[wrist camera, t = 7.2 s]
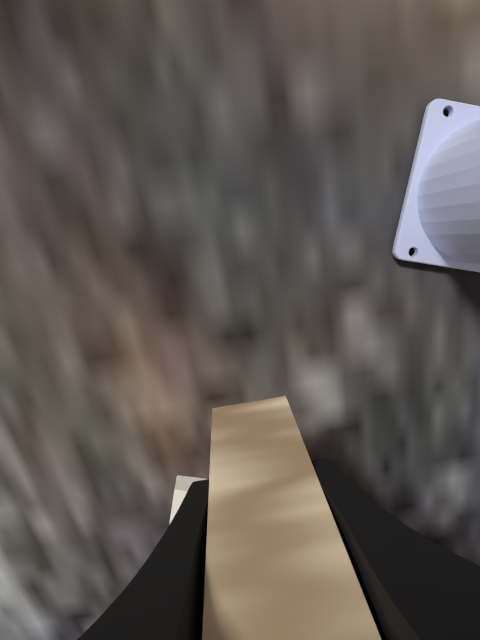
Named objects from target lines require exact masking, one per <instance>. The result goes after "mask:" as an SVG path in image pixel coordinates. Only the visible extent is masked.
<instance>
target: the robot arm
mask: <svg viewBox="0 0 480 640" xmlns="http://www.w3.org/2000/svg"><path fill="white" fill-rule="evenodd" d="M444 108H446V109H447V110H448V112H449V115H448V117H446V116H444V114H443V109H444ZM410 248H414V254H413V255H412V256H410V255H409V249H410ZM392 253H393V255H394V257H395V258H397V259H399V260H405V261H412V262H418V263H424V264H431V265H437V266H443V267H449V268H456V269H462V270H468V271H475V272H480V106H475V105H470V104H465V103H460V102H455V101H450V100H444V99H436V100H434V101H432V102H430V103H429V104H428V105H427V107H426V110H425V114H424V118H423V122H422V126H421V131H420V135H419V139H418V143H417V148H416V152H415V156H414V160H413V165H412V169H411V173H410V177H409V182H408V186H407V190H406V194H405V199H404V203H403V207H402V211H401V216H400V220H399V224H398V228H397V233H396V237H395V241H394V245H393V252H392ZM311 462H312V465H313V467H314V470H315V472H316V475H317V477H318V480H319V482H320V485H321V488H322V490H323V493H324V495H325V498H326V500H327V503H328V505H329V508H330V510H331V513H332V515H333V518H334V521H335V523H336V526H337V528H338V531H339V533H340V536H341V538H342V541H343V543H344V546H345V549H346V551H347V554H348V556H349V559H350V561H351V564H352V566H353V569H354V571H355V574H356V576H357V579H358V582H359V584H360V587H361V589H362V592H363V594H364V597H365V599H366V602H367V604H368V607H369V610H370V612H371V615H372V617H373V620H374V622H375V625H376V627H377V630H378V632H379V635H380V637H381V640H480V566H478V565H476V564H474V563H472V562H470V561H468V560H466V559H464V558H462V557H460V556H458V555H456V554H454V553H452V552H451V551H449V550H447V549H445V548H443V547H441V546H439V545H437V544H436V543H434V542H432V541H430V540H429V539H427V538H425V537H424V536H422V535H420V534H419V533H417V532H416V531H414V530H413V529H411V528H409V527H408V526H406V525H405V524H403V523H402V522H400V521H399V520H398V519H396V518H395V517H393V516H392V515H391V514H389V513H388V512H387V511H385V510H384V509H383V508H381V507H380V506H379V505H378V504H376V503H375V502H374V501H373V500H372V499H370V498H369V497H368V496H367V495H366V494H364V493H363V492H362V491H361V490H360V489H359V488H357V487H356V486H355V485H354V484H353V483H352V482H351V481H350V480H349V479H348V478H346V477H345V476H344V475H343V474H342V473H341V472H340V471H339V470H338V469H337V468H336V467H335V466H334V465H333V464H332V463H331V462H330V461H329V460H328V459H322V460H316V461H311ZM208 498H209V479H206V480H200V481H194V482H193V483H192V484H191V485H190V487H189V489H188V491H187V493H186V495H185V497H184V499H183V501H182V503H181V505H180V507H179V509H178V511H177V512H176V514H175V516H174V518H173V519H172V521H171V523H170V525H169V526H168V528H167V530H166V531H165V533H164V535H163V536H162V538H161V539H160V541H159V542H158V544H157V545H156V547H155V549H154V550H153V552H152V553H151V555H150V556H149V558H148V559H147V560H146V562H145V563H144V565H143V566H142V567H141V569H140V570H139V571H138V573H137V574H136V575H135V577H134V578H133V579H132V581H131V582H130V583H129V584H128V586H127V587H126V588H125V589H124V591H123V592H122V593H121V594H120V595H119V596H118V597H117V599H116V600H115V601H114V602H113V603H112V604H111V605H110V606H109V607H108V609H107V610H106V611H105V612H104V613H103V614H102V615H101V616H100V617H99V618H98V620H97V621H96V622H95V623H94V624H93V625H92V626H91V627H90V628H89V629H88V630H87V631H86V632H85V633H84V634H83V635H82V636H81V637H79V638H78V639H77V640H202V631H203V609H204V587H205V564H206V542H207V520H208Z"/></svg>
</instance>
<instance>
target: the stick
mask: <svg viewBox="0 0 480 640" xmlns="http://www.w3.org/2000/svg"><path fill="white" fill-rule="evenodd" d="M202 640H381V637H380V635H379V632H378V630H377V627H376V625H375V622H374V620H373V617H372V615H371V612H370V610H369V607H368V604H367V602H366V599H365V597H364V594H363V592H362V589H361V587H360V584H359V582H358V579H357V576H356V574H355V571H354V569H353V566H352V564H351V561H350V559H349V556H348V554H347V551H346V549H345V546H344V543H343V541H342V538H341V536H340V533H339V531H338V528H337V526H336V523H335V521H334V518H333V515H332V513H331V510H330V508H329V505H328V503H327V500H326V498H325V495H324V493H323V490H322V488H321V485H320V482H319V480H318V477H317V475H316V472H315V470H314V467H313V465H312V462H311V460H310V457H309V454H308V452H307V449H306V447H305V444H304V442H303V439H302V437H301V434H300V432H299V429H298V427H297V424H296V421H295V419H294V416H293V414H292V411H291V409H290V406H289V404H288V401H287V399H286V396H283V397H277V398H271V399H265V400H260V401H254V402H248V403H242V404H236V405H230V406H225V407H219V408H213V409H212V431H211V453H210V475H209V498H208V520H207V542H206V564H205V587H204V609H203V631H202Z"/></svg>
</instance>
